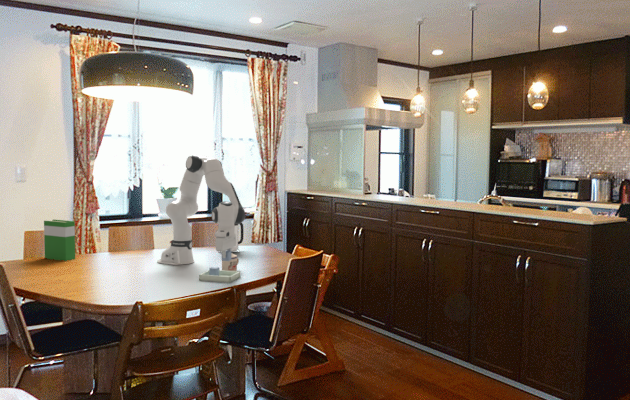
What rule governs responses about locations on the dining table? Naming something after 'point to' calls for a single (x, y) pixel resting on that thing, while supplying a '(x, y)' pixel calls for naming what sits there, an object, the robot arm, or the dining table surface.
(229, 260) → the blue block
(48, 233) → the cereal box
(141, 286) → the dining table surface
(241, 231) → the coffee press
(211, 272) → the blue block
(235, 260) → the teacup with lid
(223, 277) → the sage tray
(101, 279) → the dining table surface
